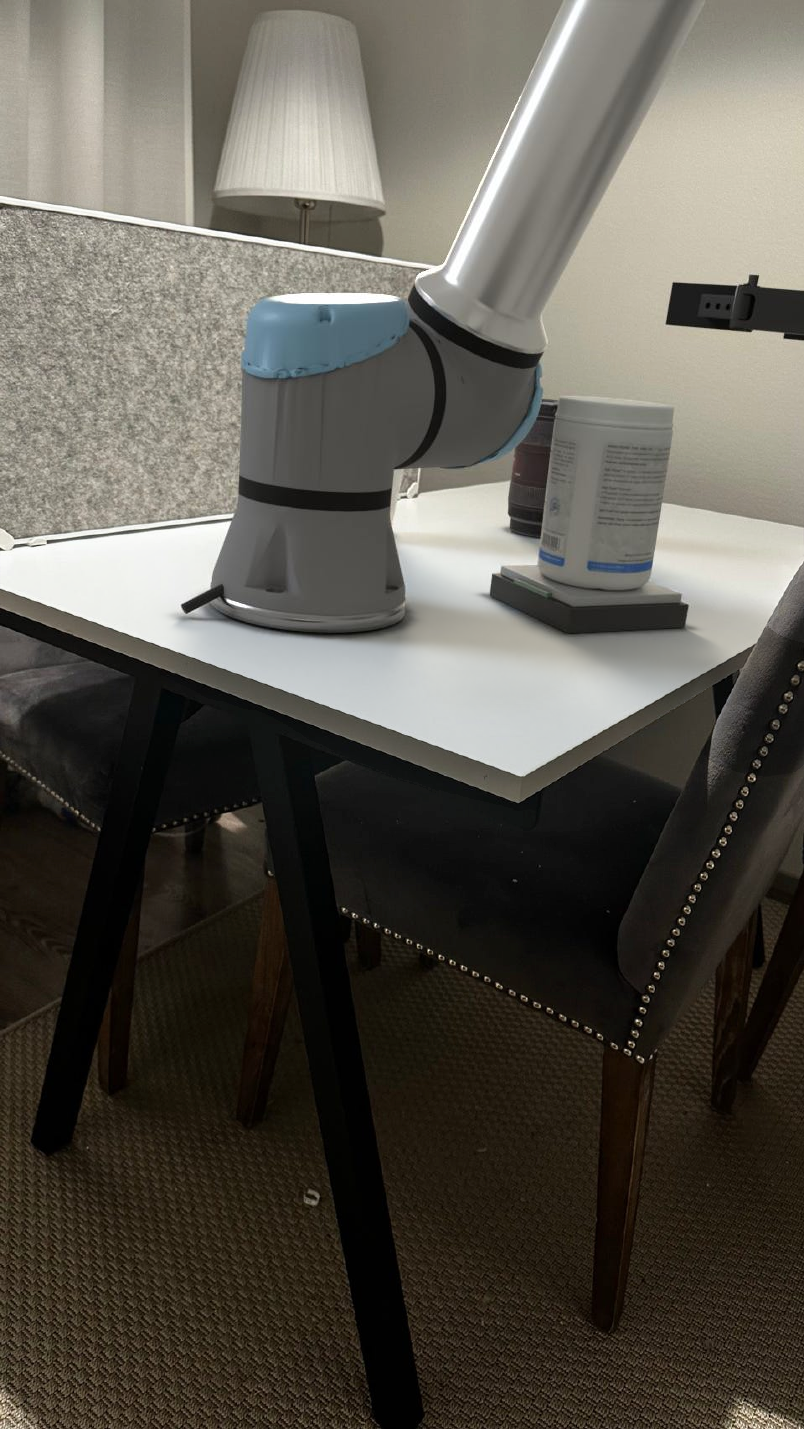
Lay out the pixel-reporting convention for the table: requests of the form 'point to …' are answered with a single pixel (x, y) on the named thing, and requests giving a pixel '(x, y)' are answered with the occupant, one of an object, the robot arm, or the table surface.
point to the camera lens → (532, 473)
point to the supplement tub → (604, 491)
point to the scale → (587, 603)
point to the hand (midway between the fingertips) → (733, 312)
